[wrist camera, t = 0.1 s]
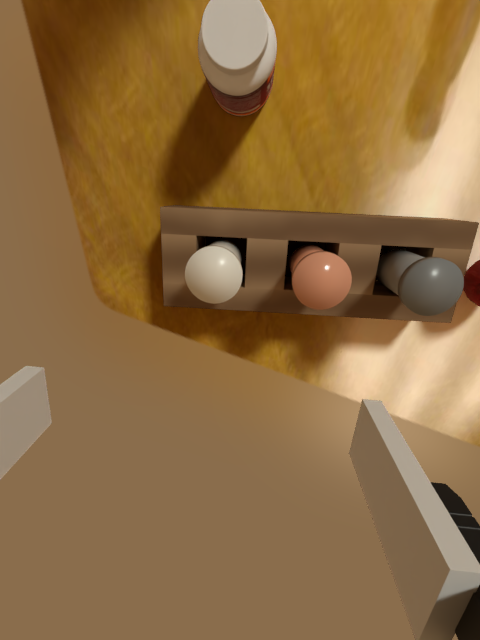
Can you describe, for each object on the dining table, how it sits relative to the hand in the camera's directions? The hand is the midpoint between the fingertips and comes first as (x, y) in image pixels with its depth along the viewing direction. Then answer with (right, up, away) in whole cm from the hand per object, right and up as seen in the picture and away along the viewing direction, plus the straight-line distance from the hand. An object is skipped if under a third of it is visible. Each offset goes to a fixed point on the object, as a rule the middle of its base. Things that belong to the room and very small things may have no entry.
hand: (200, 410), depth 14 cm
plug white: (0, +10, +21) cm, 24 cm away
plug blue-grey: (+18, +9, +21) cm, 29 cm away
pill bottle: (+2, +28, +20) cm, 34 cm away
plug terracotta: (+9, +10, +21) cm, 25 cm away
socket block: (+9, +11, +25) cm, 29 cm away
